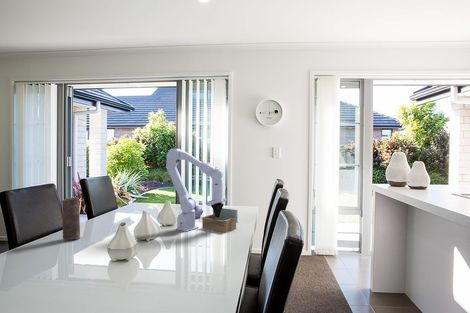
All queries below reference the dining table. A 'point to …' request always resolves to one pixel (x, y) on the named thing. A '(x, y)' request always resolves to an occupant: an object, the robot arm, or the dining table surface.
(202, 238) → the dining table surface
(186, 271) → the dining table surface
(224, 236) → the dining table surface
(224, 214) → the light blue panel
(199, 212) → the flower
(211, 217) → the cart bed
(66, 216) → the candle
